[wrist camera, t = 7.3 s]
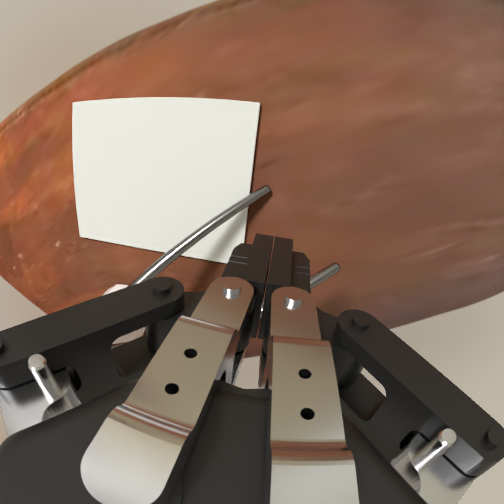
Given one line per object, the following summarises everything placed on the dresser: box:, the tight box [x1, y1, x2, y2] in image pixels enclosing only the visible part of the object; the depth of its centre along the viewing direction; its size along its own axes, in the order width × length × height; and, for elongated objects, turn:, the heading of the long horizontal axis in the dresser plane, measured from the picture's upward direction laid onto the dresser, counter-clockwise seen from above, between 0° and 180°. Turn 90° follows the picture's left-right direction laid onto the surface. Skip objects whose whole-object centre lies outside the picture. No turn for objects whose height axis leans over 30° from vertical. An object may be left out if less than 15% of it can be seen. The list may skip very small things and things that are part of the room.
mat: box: [72, 97, 260, 263], centre depth 28 cm, size 20×16×1 cm
